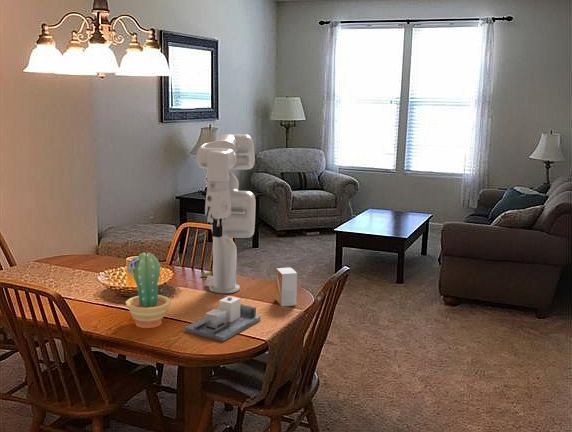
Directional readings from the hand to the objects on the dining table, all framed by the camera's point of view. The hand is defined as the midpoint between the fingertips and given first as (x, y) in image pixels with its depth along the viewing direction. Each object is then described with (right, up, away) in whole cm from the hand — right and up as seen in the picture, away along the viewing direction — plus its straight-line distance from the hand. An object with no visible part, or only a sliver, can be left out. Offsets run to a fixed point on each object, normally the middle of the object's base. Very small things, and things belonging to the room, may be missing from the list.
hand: (217, 236), depth 224 cm
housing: (+5, -29, -3) cm, 29 cm away
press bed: (+3, -31, -6) cm, 32 cm away
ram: (+1, -30, -9) cm, 31 cm away
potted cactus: (-23, -30, -5) cm, 39 cm away
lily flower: (-8, -20, +50) cm, 55 cm away
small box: (+24, -27, +20) cm, 41 cm away
